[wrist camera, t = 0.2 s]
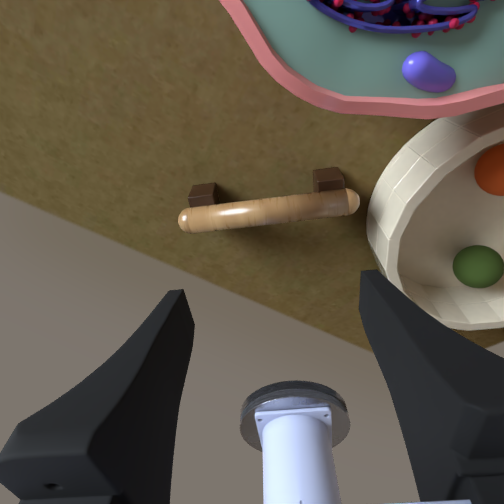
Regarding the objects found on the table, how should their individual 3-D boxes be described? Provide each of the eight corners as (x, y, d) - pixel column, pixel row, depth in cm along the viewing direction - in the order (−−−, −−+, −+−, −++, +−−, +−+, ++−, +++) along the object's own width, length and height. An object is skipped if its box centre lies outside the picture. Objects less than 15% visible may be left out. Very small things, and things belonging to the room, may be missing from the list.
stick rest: (337, 166, 22) (344, 178, 20) (337, 200, 23) (344, 213, 21) (192, 185, 22) (187, 197, 21) (200, 216, 24) (196, 231, 22)
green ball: (482, 268, 25) (507, 294, 23) (441, 272, 26) (461, 299, 23) (492, 234, 24) (520, 258, 21) (448, 239, 24) (471, 264, 21)
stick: (356, 182, 20) (363, 193, 19) (355, 206, 21) (362, 218, 20) (177, 204, 21) (172, 216, 20) (184, 227, 22) (179, 239, 21)
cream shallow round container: (547, 279, 27) (595, 320, 23) (361, 297, 28) (378, 338, 24) (636, 76, 19) (731, 87, 15) (372, 113, 20) (399, 132, 16)
